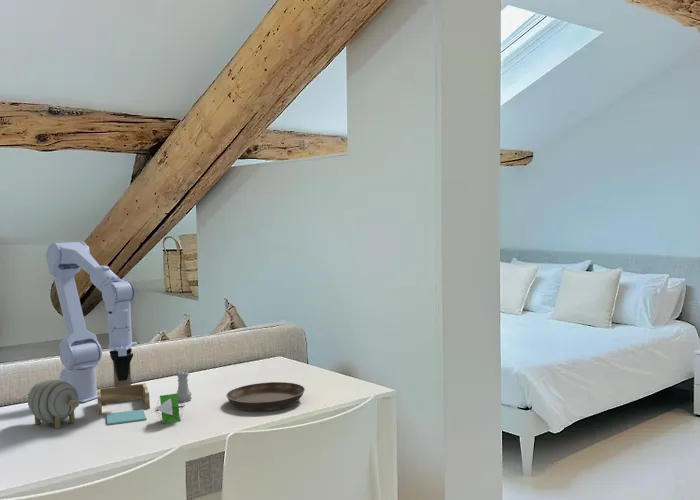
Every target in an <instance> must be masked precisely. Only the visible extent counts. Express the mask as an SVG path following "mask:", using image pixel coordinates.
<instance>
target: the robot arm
mask: <svg viewBox="0 0 700 500" xmlns="http://www.w3.org/2000/svg"><path fill="white" fill-rule="evenodd" d="M45 252H46V253H45V258H46V262H47V267H48V271H49V274H50V275H51V276H53V280H54V284H55V288H56V294H57V297H58V301H59V305H60V306H59V307H60V310H61V315H62V317H63V322H64V326H65V331H66V335H65V336H64V337H63V339H62V340H61V341H60V343H59V358H60V362H61V364H62V366H63V368H62V370H61V372H60V375H59V379H61V380H63V381H66V382H68V383H69V384H71V385H72V386H73V387H74V388H75V389H76V390H77V393H78V402H79V403H85V402H90V401H91V400H94V399H95V400H96V399H97V389H98V387H97V366H99V362H100V360H101V359H102V356H103V349H102V348H103V347H102V346H101V344H100V342H99V341H98V338H97V335H96V334H95V333H93V332H91V331H89V330H88V329H87V325H86V320H85V317H84V313H83V309H82V304H81V301H80V296H79V292H78V289H77V284H76V280H75V277H76V274H78V273H80V272H81V271H82V270H83V271H84V272H86V273H87V275H88V276H89V281H90V282H91V284H92V285H94V286H95V287H96V288H97V289H98V290H99V291H100V292H101V297H102V299H103V302H104V307H105V308H104V309H105V310H106V311H107V322H108V323H107V325H108V329H107V330H108V342H109V343H108V346H107V347H108V349H110V350H109V351H108V352H109V355H110V359H111V360H112V363H113V362H114V365H115V368H116V372H117V377H118V380H119V381H125V380H127V378H128V372H129V366H130V367H131V362H132V359H133V357H134V353H133V352H132V351H133V349H132V347H136V346H138V342H137V341H133V331H132V312H131V311H132V309H131V307H132V304H131V302H133V300H134V299H135V295H136V291H135V286H134V284H133V283H132V282H131V281H130V280H129V279H121V278H120V277H119V276H118V275H117V274H115V273H114V272H113V271H112V270H111V269H110V267H109V265H100V264H99V263H98V261H97V260H96V259H95V258H94V257H93V255H92V254H91V253H90V246H89V245H87V243H86V242H85V241H83V240H80V241H69V242H51V243H50V244H49V245H48V247H47V250H46V251H45Z"/></svg>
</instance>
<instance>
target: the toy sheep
mask: <svg viewBox="0 0 700 500" xmlns="http://www.w3.org/2000/svg"><path fill="white" fill-rule="evenodd" d="M26 395H27V405H28V408H29V410H30V411H31V413H32V415H33V416H34V423H35V425H37V426H38V425H40V424H41V423H46V424H54V428H55V429H60V428H61V422H63V421H65V420H66V419H67V418H68V423H70V424H74V423H75V422H76V421H75V420H76V419H75V410H76V409H77V408H78V407H79V406H80V402H78V393H77V390H76V389H75V388H74V387H73V386H72V385H71V384H69V383H68V382H66V381H63V380H61V379H60V378H52V379H51V378H49V379H46V380H42V381H39V382H37V383H35V384H34V385H33V386H32V388H31V389H30V391H29V393H28V394H26Z"/></svg>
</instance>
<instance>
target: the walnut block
mask: <svg viewBox="0 0 700 500" xmlns="http://www.w3.org/2000/svg"><path fill="white" fill-rule="evenodd" d="M112 364H113V384H114V387H123V386H131V385H132V375H131V365H130V366H129V372H128V378H127V380H125V381H119V380H118V377H117V372H116V368H115V365H114V362H113V361H112Z"/></svg>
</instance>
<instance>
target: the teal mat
mask: <svg viewBox="0 0 700 500" xmlns="http://www.w3.org/2000/svg"><path fill="white" fill-rule="evenodd" d="M105 414H106V415H105V416H106V423H107V426H110V425H118V424H126V423H132V422H141V421H147V417H146V414H145V411H144V408H142V409H133V410H126V411H125V410H124V411H117V412H109V413H105Z"/></svg>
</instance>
